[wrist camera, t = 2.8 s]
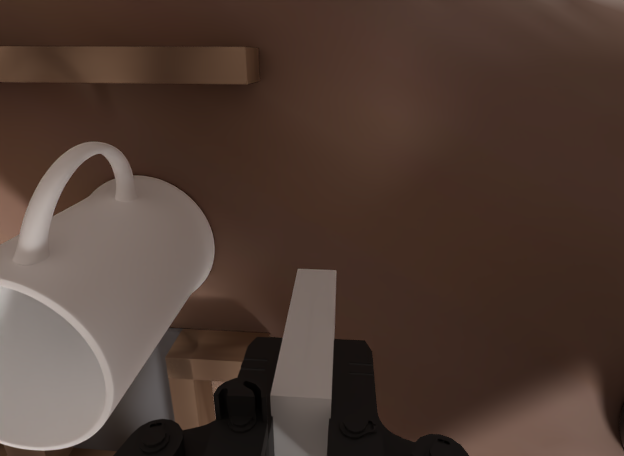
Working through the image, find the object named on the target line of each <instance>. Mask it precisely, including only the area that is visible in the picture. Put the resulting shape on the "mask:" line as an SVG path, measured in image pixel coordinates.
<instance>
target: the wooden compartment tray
mask: <svg viewBox="0 0 624 456" xmlns="http://www.w3.org/2000/svg"><path fill="white" fill-rule="evenodd" d="M257 81H260V69H259V48H253V47H87V46H0V82H45V83H155V84H250V83H254V82H257ZM256 337H270V333H257V332H239V331H220V330H201V329H182V328H168V329H167V331H166V332H165V334H164V335H163V337H162V338H161V340H160V341H159V343H158V344H157V346H156V347H155V349H154V350H153V352H152V353H151V355H150V356H149V358H148V359H147V361H146V362H145V364H144V365H143V367H142V368H141V370H140V371H139V373H138V374H137V376H136V377H135V379H134V380H133V382H132V383H131V385H130V386H129V388H128V389H127V391H126V393H125V394H124V396H123V397H122V399H121V400H120V402H119V403H118V405H117V406H116V408H115V409H114V411H113V412H112V413H111V415H110V416H109V418H108V419H107V421H106V422H105V423H104V425H103V426H102V427H101V428H100V429H99V430H98V431H97V432H96V433H95V434H94V435H93V436H91V437H90V438H89V439H87V440H85V441H83V442H81V443H79V444H77V445H74V446H71V447H68V448H63V449H58V450H45V451H41V450H27V449H21V448H16V447H11V446H7V445H4V444H1V443H0V456H113V455H114V454H115V453H116V452H117V451H118V449H119V448H120V447H121V446H122V445H123V443H124V442H125V441H126V440H127V439H128V438H129V436H130V435H131V434H132V433H133V432H134V431H135V430H137V429H138V428H139V427H140V426H142V425H144V424H146V423H148V422H150V421H153V420H158V419H169V420H173V421H174V422H176V423H178V424H179V425H180V427H181V429H182V430H186V429H191V428H195V427H200V426H203V425H206V424H209V423H211V422H212V421H214V420H215V411H214V401H213V392H212V383H211V381H224V382H226V381H229V380H231V379H234V378H237V377H238V374H239V371H240V369H241V365H242V362H243V360H244V356H245V353H246V350H247V347H248V345H249V344H250V343H251V342H252V341H253V340H254V339H255V338H256Z"/></svg>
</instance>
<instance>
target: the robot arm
mask: <svg viewBox="0 0 624 456" xmlns="http://www.w3.org/2000/svg"><path fill="white" fill-rule="evenodd" d="M336 271H337V270H318V269H298V270H297V275H296V279H295V284H294V288H293V293H292V298H291V302H290V307H289V311H288V316H287V321H286V325H285V330H284V334H283V338H276V337H256V338H255V339H254V340H253V341H252V342H251V343H250V344H249V345H248V347H247V350H246V353H245V356H244V360H243V362H242V365H241V369H240V371H239V374H238V377H237V378H234V379H231V380H229V381H226V382H225V383H223V384H222V385H221V386H219V387H218V388H217V390H216V391H215V393H214V395H213V396H214V404H215V413H216V420H214V421H212V422H211V423H209V424H206V425H203V426H200V427H195V428H191V429H186V430H182V429H181V427H180V425H179V424H178V423H176V422H174V421H173V420H169V419H158V420H153V421H150V422H148V423H146V424H144V425H142V426H140V427H139V428H138V429H137V430H135V431H134V432H133V433H132V434H131V435H130V436H129V438H128V439H127V440H126V441H125V442H124V443H123V445H122V446H121V447H120V448H119V449H118V451H117V452H116V453H115V454H114V455H113V456H469V455H468V453H467V452H466V451H465V450H464V448H463V447H462V446H461V445H460V444H459V443H457V442H456V441H454V440H453V439H451V438H449V437H446V436H443V435H439V434H429V435H426V436H423V437H420V438H419V439H418V440H417V441H416V442H412V441H409V440H406V439H403V438H401V437H399V436H397V435H394V434H393V433H391V432H390V431H389V430H387V429H386V428H385V426H384V425H383V424H382V423H381V421H380V419H379V417H378V413H377V404H376V392H375V381H374V369H373V358H372V351H371V349H370V348H369V346H368V345H367V343H366V342H365V341H361V340H340V339H335V307H336ZM620 437H621V441H622V444H623V447H624V404H623V408H622V411H621V416H620Z"/></svg>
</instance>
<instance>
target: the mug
mask: <svg viewBox="0 0 624 456" xmlns="http://www.w3.org/2000/svg"><path fill="white" fill-rule="evenodd" d="M96 154H102V155H103V156H105V157H106V158H107V160H108V161H109V163H110V165H111V167H112V169H113V172H114V176H115V179H112V180H110V181H108V182H106V183H104V184H102V185H101V186H99V187H98V188H97V189H96V190H95V191H94V192H93V193H92V194H91V195H90V196H89V197H87V198H85V199H84V200H82V201H80V202H78V203H76V204H75V205H73V206H71V207H69V208H67V209H65V210H63V211H62V212H60V213H58V214H56V215H54V216H53V213H54V210H55V207H56V204H57V202H58V199H59V197H60V195H61V193H62V191H63V189H64V187H65V185H66V183H67V182H68V180H69V179H70V177H71V176H72V174H73V173H74V172H75V171H76V169H77V168H78V167H79V166H80V165H81V164H82V163H83V162H84V161H86V160H87V159H88V158H90V157H91V156H93V155H96ZM214 254H215V245H214V238H213V233H212V230H211V227H210V225H209V223H208V220H207V219H206V217H205V215H204V213H203V212H202V210H201V209H200V208H199V206H198V205H197V204H196V203H195V202H194V201H193V200H192V199H191V198H190V197H189V196H188V195H187V194H185V193H184V192H183V191H181V190H180V189H179V188H177V187H175V186H174V185H172V184H170V183H168V182H165V181H163V180H160V179H157V178H153V177H149V176H141V175H133V173H132V169H131V167H130V164H129V162H128V160H127V158H126V157H125V156H124V154H123V153H122V152H121V151H120V150H119V149H117V148H116V147H114V146H112V145H110V144H107V143H103V142H85V143H82V144H79V145H76V146H74V147H72V148H71V149H69V150H68V151H66V152H65V153H64V154H62V155H61V156H60V157H59V158H58V159H57V160H56V161H55V162H54V163H53V164H52V165H51V167H50V168H49V169H48V170H47V172H46V173H45V174H44V176H43V177H42V179H41V181H40V182H39V184H38V186H37V188H36V189H35V191H34V193H33V195H32V198H31V200H30V202H29V205H28V207H27V210H26V213H25V216H24V219H23V222H22V226H21V230H20V234H19V235H17V236H16V237H14V238H12V239H10V240H8V241H6V242H4V243H3V244H1V245H0V443H1V444H4V445H7V446H11V447H16V448H21V449H27V450H41V451H45V450H58V449H63V448H68V447H71V446H74V445H77V444H79V443H81V442H83V441H85V440H87V439H89V438H90V437H91V436H93V435H94V434H95V433H96V432H97V431H98V430H99V429H100V428H101V427H102V426H103V425H104V423H105V422H106V421H107V419H108V418H109V416H110V415H111V413H112V412H113V411H114V409H115V408H116V406H117V405H118V403H119V402H120V400H121V399H122V397H123V396H124V394H125V393H126V391H127V389H128V388H129V386H130V385H131V383H132V382H133V380H134V379H135V377H136V376H137V374H138V373H139V371H140V370H141V368H142V367H143V365H144V364H145V362H146V361H147V359H148V358H149V356H150V355H151V353H152V352H153V350H154V349H155V347H156V346H157V344H158V343H159V341H160V340H161V338H162V337H163V335H164V334H165V332H166V331H167V329H168V328H169V326H170V325H171V323H172V322H173V320H174V319H175V317H176V316H177V314H178V313H179V311H180V310H181V308H182V307H183V305H184V304H185V302H186V301H187V299H188V298H189V297H190V295H191V294H192V293H193V292H194V291H195V290H197V289H198V288H199V287H200V286H201V285H202V283H203V282H204V281H205V280H206V278H207V276H208V275H209V273H210V270H211V268H212V265H213V261H214Z"/></svg>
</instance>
